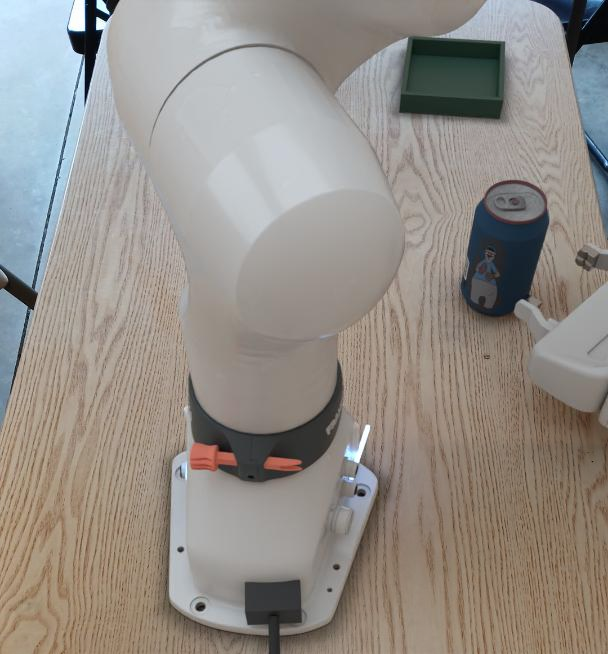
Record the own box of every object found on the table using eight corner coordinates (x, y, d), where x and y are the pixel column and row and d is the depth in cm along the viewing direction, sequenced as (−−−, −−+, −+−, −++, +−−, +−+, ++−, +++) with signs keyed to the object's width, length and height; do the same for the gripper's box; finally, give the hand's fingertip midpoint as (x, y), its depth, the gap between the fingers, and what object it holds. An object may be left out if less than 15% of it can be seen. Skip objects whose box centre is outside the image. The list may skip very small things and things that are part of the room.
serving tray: (499, 119, 101) (503, 100, 98) (399, 112, 102) (400, 93, 99) (502, 60, 106) (505, 41, 104) (406, 54, 107) (408, 35, 105)
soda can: (522, 274, 88) (550, 175, 77) (529, 323, 84) (558, 226, 74) (456, 273, 88) (474, 174, 77) (460, 322, 85) (480, 226, 74)
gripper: (756, 267, 74) (625, 195, 79) (623, 396, 67) (489, 308, 72) (725, 318, 80) (605, 248, 85) (600, 442, 73) (477, 358, 78)
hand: (550, 277), depth 78 cm, fingers open, 8 cm apart
